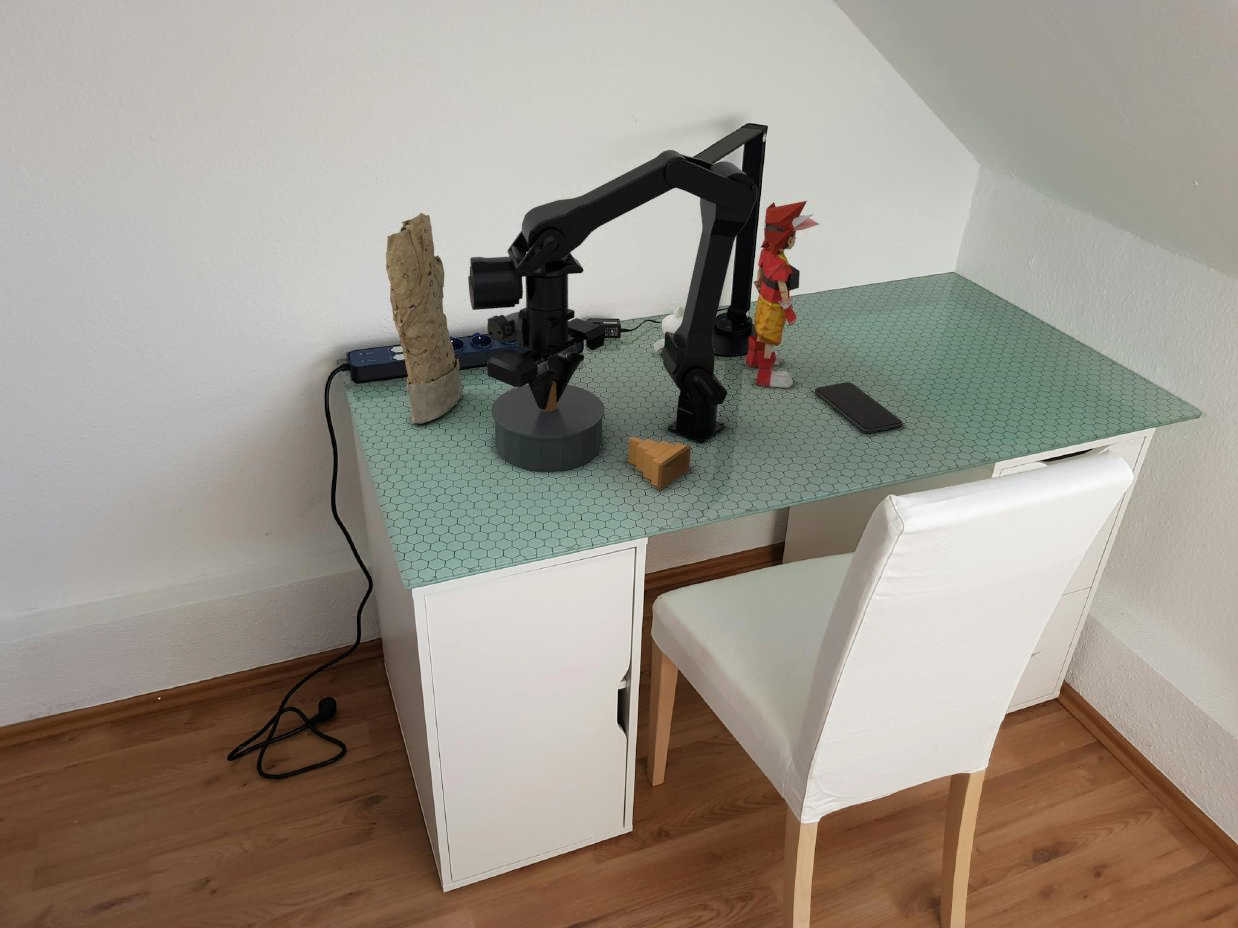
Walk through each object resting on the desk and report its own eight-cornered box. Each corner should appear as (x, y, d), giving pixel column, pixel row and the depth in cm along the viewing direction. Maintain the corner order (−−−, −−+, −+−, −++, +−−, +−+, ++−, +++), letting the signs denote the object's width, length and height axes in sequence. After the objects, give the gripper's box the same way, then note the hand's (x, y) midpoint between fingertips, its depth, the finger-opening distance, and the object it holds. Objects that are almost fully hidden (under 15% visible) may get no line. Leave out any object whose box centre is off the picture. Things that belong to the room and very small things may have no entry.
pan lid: (543, 379, 152) (543, 349, 149) (626, 412, 144) (627, 381, 141) (468, 417, 141) (466, 386, 138) (553, 455, 133) (553, 422, 130)
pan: (544, 409, 154) (543, 377, 151) (621, 441, 146) (623, 408, 143) (473, 447, 144) (472, 413, 141) (553, 484, 136) (553, 449, 133)
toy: (811, 385, 163) (837, 207, 148) (764, 393, 161) (785, 212, 145) (776, 356, 173) (796, 185, 157) (730, 363, 170) (747, 190, 154)
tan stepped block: (689, 470, 140) (691, 446, 138) (660, 490, 135) (662, 466, 133) (644, 451, 144) (645, 427, 142) (614, 470, 139) (615, 446, 137)
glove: (472, 420, 150) (461, 229, 135) (404, 429, 147) (384, 234, 132) (457, 381, 161) (445, 200, 146) (393, 388, 158) (374, 205, 143)
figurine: (708, 376, 165) (713, 315, 160) (684, 383, 163) (688, 321, 157) (667, 350, 174) (671, 291, 168) (644, 356, 172) (646, 296, 166)
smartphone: (904, 427, 152) (849, 385, 164) (905, 422, 152) (850, 380, 163) (864, 435, 149) (811, 392, 161) (865, 430, 149) (812, 387, 161)
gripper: (548, 271, 144) (549, 367, 152) (455, 308, 131) (461, 411, 139) (607, 290, 138) (605, 389, 146) (516, 330, 125) (519, 436, 133)
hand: (548, 405), depth 141 cm, fingers closed on pan lid, 2 cm apart
